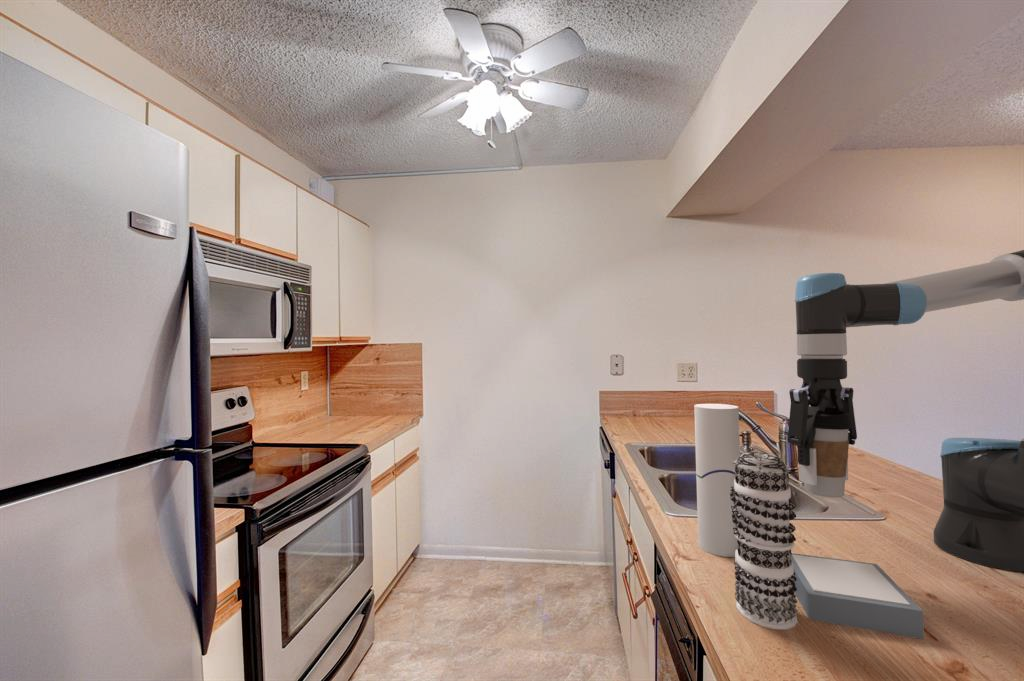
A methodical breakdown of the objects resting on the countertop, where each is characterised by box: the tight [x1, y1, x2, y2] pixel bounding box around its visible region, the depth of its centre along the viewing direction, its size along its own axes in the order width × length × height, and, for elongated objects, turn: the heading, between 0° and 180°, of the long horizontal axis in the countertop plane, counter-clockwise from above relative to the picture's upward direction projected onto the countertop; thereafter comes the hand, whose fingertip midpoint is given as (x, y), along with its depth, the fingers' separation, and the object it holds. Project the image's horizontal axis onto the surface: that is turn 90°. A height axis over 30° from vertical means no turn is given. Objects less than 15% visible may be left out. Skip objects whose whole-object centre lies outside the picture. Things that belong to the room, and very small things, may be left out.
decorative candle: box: [730, 451, 799, 630], centre depth 67 cm, size 9×9×25 cm
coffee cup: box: [803, 411, 851, 499], centre depth 78 cm, size 8×8×15 cm
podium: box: [791, 552, 925, 640], centre depth 69 cm, size 14×14×4 cm
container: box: [693, 403, 741, 558], centre depth 89 cm, size 9×9×30 cm
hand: (823, 480), depth 78 cm, fingers closed on coffee cup, 7 cm apart
